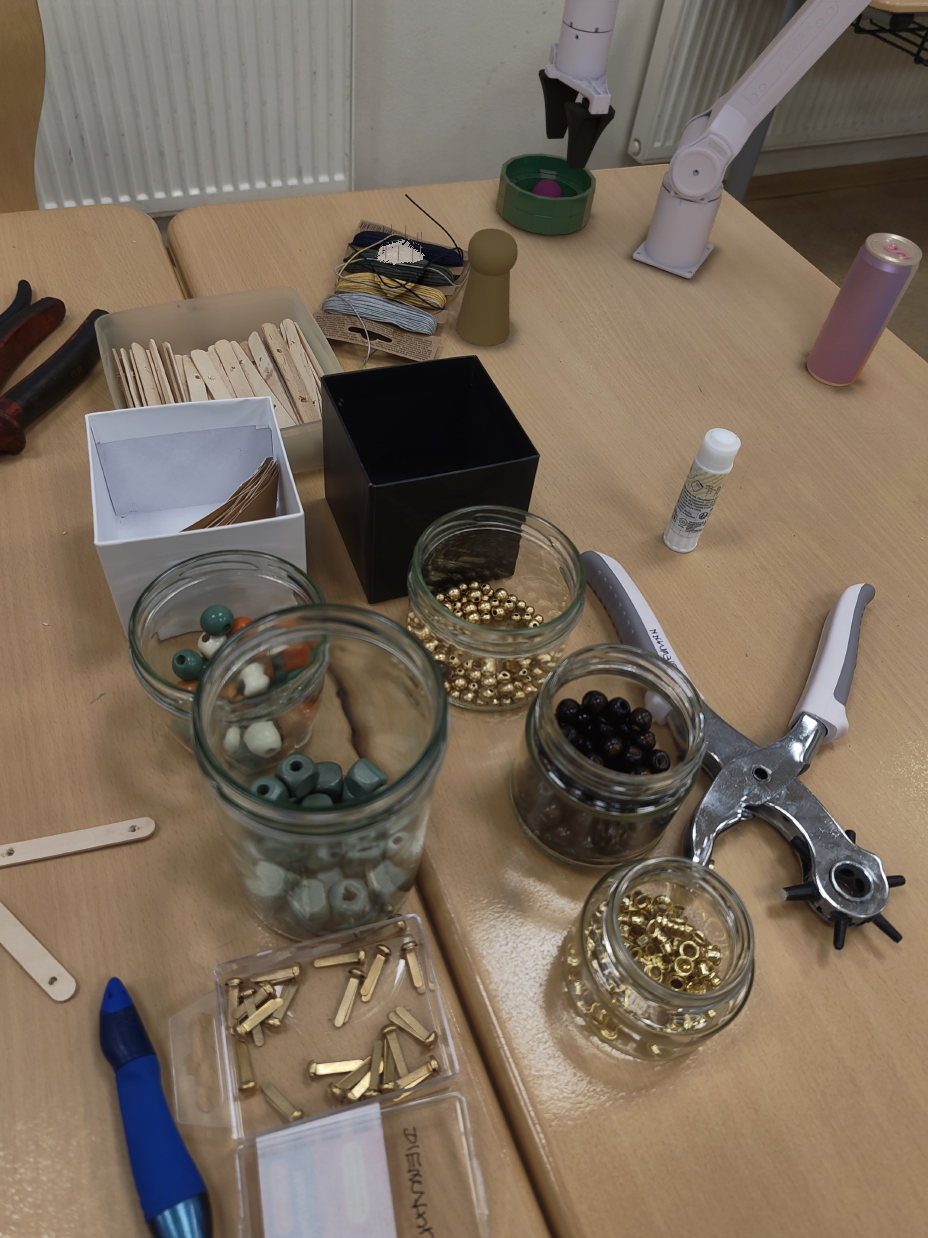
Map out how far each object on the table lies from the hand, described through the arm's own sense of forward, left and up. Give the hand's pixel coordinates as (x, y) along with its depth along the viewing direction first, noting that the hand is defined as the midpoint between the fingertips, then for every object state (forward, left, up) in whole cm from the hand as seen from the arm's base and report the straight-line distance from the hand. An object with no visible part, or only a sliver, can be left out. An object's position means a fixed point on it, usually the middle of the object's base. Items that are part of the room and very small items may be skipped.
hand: (565, 151), depth 105 cm
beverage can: (+9, +40, -10) cm, 42 cm away
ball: (-2, -3, -9) cm, 9 cm away
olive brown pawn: (+26, +4, -10) cm, 28 cm away
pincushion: (+22, -10, -10) cm, 26 cm away
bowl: (-2, -2, -9) cm, 10 cm away
